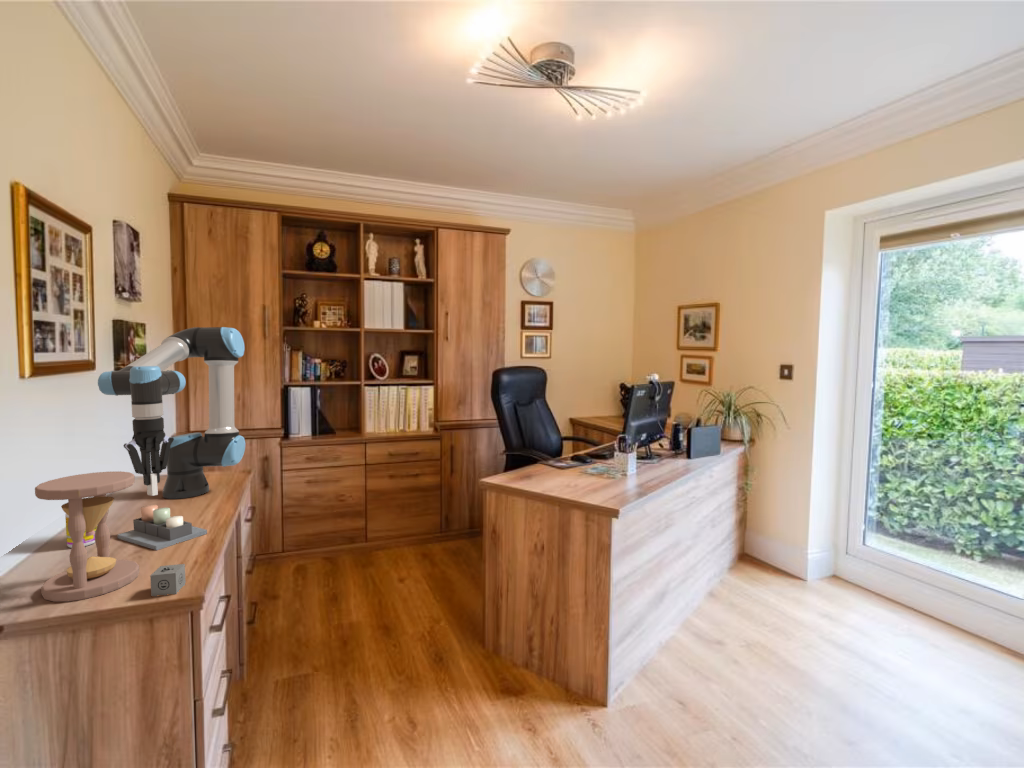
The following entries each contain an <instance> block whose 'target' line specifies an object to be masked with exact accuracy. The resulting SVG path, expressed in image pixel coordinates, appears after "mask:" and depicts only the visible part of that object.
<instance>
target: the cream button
mask: <svg viewBox="0 0 1024 768" xmlns="http://www.w3.org/2000/svg"><path fill="white" fill-rule="evenodd" d="M183 521H184V516H182V515H175V516H174V515H173V516H170V517H169V518H167V519H166V528H170V529H171V528H175V527H178V526H181V525H183Z"/></svg>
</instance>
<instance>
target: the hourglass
mask: <svg viewBox="0 0 1024 768" xmlns="http://www.w3.org/2000/svg"><path fill="white" fill-rule="evenodd" d="M134 483H135V474H133V472H129V471H121V470H120V471H119V470H118V471H97V472H88V473H81V474H74V475H68V476H63V477H59V478H55V479H49V480H47V481H44V482H42V483H39V484H37V486H35V487H34V495H35V497H36V498H37V499H39V500H44V501H66V500H67V502H66V503H64V504H62V505H61V509H62V511H63V512H64V513H65V514H67V515H68V516H69V520H68V532H69V534H70V537H71V539H72V541H73V545H72V548H70V552H69V562H70V563H69V564H70V567H68V568H67V569H66V570H65V571H62V572H60V573H57V574H56V575H53V576H52V577H50V578H48V579H47V580H46V581H45V582H44V583H43V584H42V585H41V589H40V590H41V591H40V592H41V596H42V597H43V599H44V600H46V601H51V602H54V603H59V602H60V603H61V602H62V603H63V602H64V603H65V602H75V601H81V600H87V599H90V598H91V599H92V598H94V597H97V596H102V595H106V594H108V593H111V592H114V591H116V590H118V589H122V588H123V587H124V586H125V587H126V586H127V585H129V584H131V583H132V582H133V581H134V580H136V579H137V578H138V577H139V574H140V564H138V563H137V561H135V560H129V559H117V558H115V557H111V556H110V542H111V532H110V529H109V527H108V525H107V518H108V515H109V513H110V512H109V511H110V507H112V505H113V502H114V500H115V497H113V496H107V495H108V494H111V493H116V492H119V491H122V490H126V489H128V488H129V487H132V486H133V485H134ZM82 498H84V499H82ZM96 526H97V528H96V532H95V531H94V529H95V527H96ZM85 530H86V531H87V532H86V533H85V534H86V536H91V535H94V534H95V543H94V544H95V546H96V551H97V552H96V553H97V556H89V557H88V551H87V548H86V546H84V544H83V542H82V540H83V536H84V532H85ZM135 578H136V579H135ZM118 583H119V584H118Z"/></svg>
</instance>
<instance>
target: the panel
mask: <svg viewBox="0 0 1024 768" xmlns="http://www.w3.org/2000/svg"><path fill="white" fill-rule="evenodd" d="M207 534H208V529H205V528H201V527H197V526H193V525H192V522H189V521H185V520H183V525H181V526H178V527H175V528H171V529H170V528H166V523H164V524H160V525H155V524H154V520H151V521H147V522H144V521H142V518H141V517H139V518H135V519H133V529H132V530H128V531H124V532H121V533H118V534H117V539H118V540H122V541H125V542H128V543H130V544H135V545H138V546H140V547H145V548H147V549H152V550H153V551H159V550H162V549H165V548H168V547H172V546H174V545H177V544H180V543H183V542H185V541H189V540H192V539H195V538H199V537H201V536H204V535H207ZM179 542H180V543H179ZM176 543H177V544H176Z"/></svg>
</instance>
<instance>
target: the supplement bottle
mask: <svg viewBox="0 0 1024 768" xmlns="http://www.w3.org/2000/svg"><path fill="white" fill-rule="evenodd" d="M82 499H84V498H82ZM68 520H69V516H68V515H67V514H66V513H65V532H66V533H65V534H66V535H65V536H66V546H67V547H68V548H70V549H72V545H73V541H72V539H71V537H70V534H69V532H68ZM96 528H97V526H96V527H95V529H94V531H95V532H96ZM86 532H87V531H86V530H85V532H84V536H83V540H82V542H83V544H84V546H85V547H89V546H90V545H93V544H96V543H95V534H94V535H91V536H86V534H85V533H86Z"/></svg>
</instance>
